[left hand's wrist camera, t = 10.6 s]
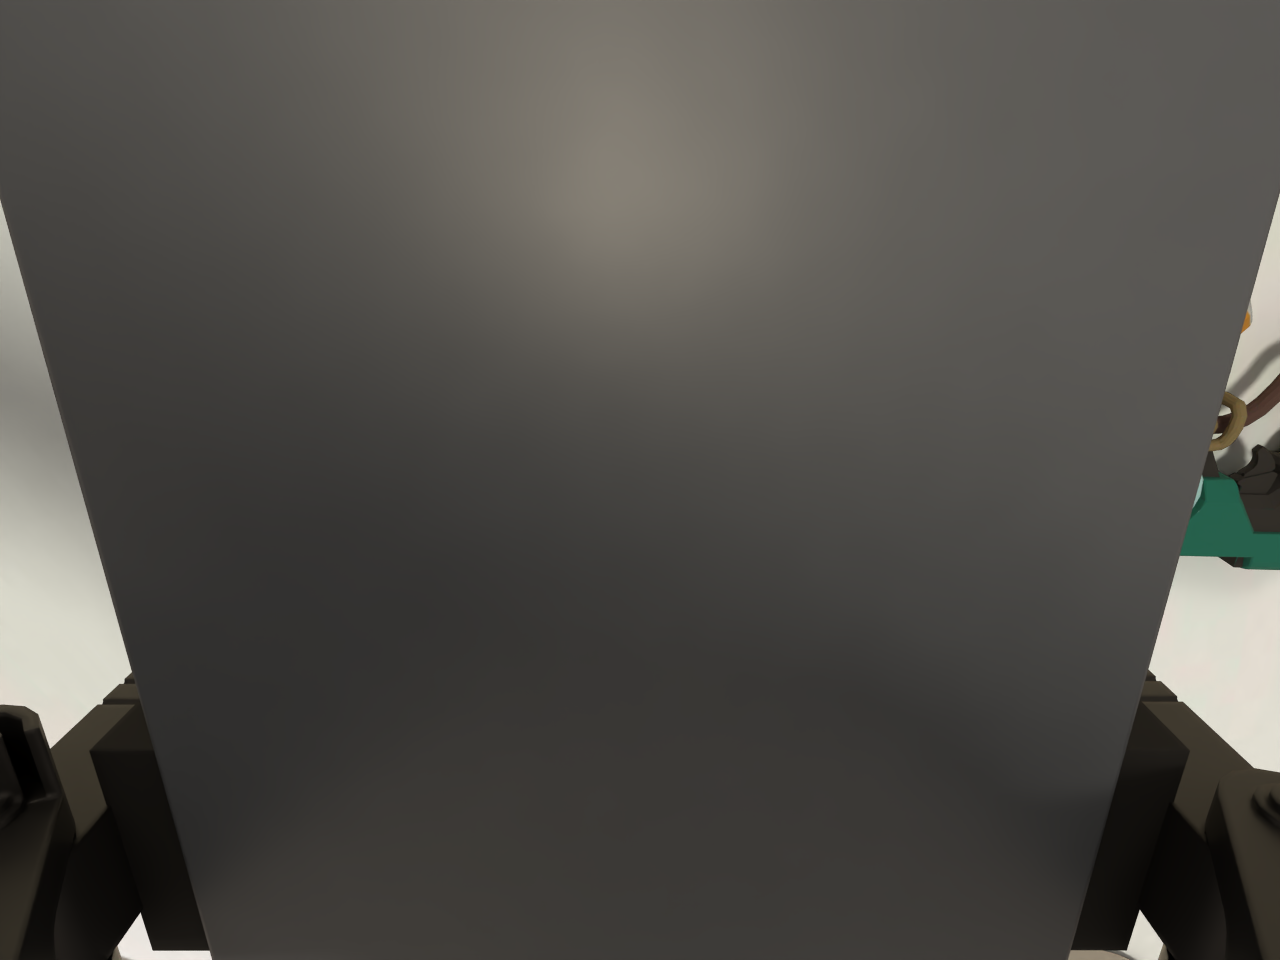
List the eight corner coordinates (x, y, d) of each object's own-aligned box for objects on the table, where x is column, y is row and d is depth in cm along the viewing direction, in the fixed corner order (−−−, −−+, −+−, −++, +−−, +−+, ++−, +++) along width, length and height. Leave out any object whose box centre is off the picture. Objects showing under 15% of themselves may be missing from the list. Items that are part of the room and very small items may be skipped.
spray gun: (1443, 322, 31) (1222, 616, 36) (1101, 181, 28) (917, 523, 34) (1564, 346, 27) (1296, 672, 33) (1181, 186, 24) (958, 572, 30)
